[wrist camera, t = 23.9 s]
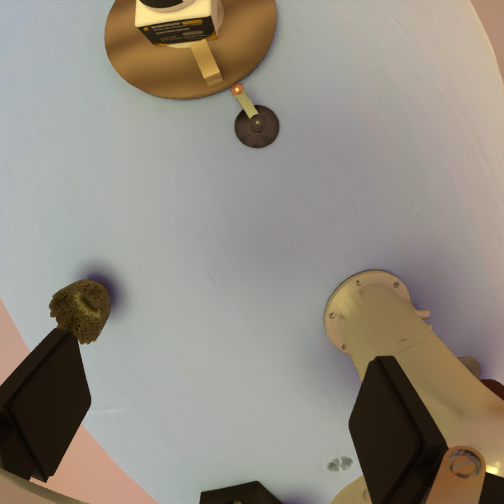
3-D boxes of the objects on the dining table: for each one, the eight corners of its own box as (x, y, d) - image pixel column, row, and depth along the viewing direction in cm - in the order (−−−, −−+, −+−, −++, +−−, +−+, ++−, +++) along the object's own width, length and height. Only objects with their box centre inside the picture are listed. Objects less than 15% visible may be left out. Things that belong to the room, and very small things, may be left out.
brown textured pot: (70, 271, 40) (40, 294, 33) (112, 262, 40) (86, 284, 32) (87, 319, 42) (63, 347, 35) (130, 312, 42) (109, 342, 34)
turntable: (95, 4, 29) (75, -12, 23) (238, -56, 27) (236, -81, 21) (140, 128, 34) (120, 124, 28) (302, 62, 32) (311, 46, 26)
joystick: (286, 134, 36) (292, 131, 30) (249, 155, 36) (248, 155, 31) (254, 83, 34) (255, 71, 28) (217, 104, 35) (211, 95, 29)
